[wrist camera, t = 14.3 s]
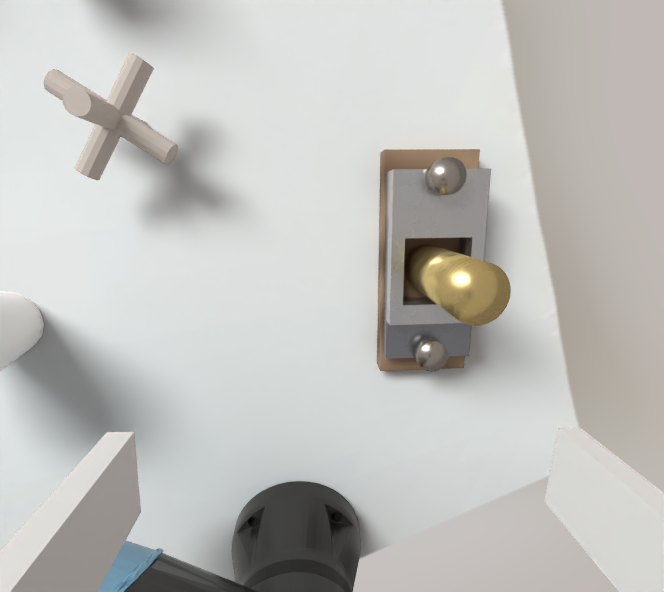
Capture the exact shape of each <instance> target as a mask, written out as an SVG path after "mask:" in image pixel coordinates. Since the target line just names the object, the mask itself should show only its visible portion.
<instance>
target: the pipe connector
mask: <svg viewBox="0 0 664 592" xmlns="http://www.w3.org/2000/svg"><path fill="white" fill-rule="evenodd" d="M153 69H154V68H153V67H152V66H151V65H149V64H148V63H147V62H145V61H144V60H142V59H141V58H139V57H138V56H137V55H135V54H133V53H132V52H129V54H128V57H127V59H126V61H125V63H124V65H123V67H122V69H121V71H120V73H119V76H118V78H117V80H116V82H115V84H114V86H113V88H112V90H111V92H110V94H109V97H108V99H107V101H106V100H105V99H103V98H102V97H100V96H99V95H97V94H95V93H94V92H92V91H91V90H89V89H87V88H86V87H84V86H83V85H81V84H79V83H78V82H76V81H75V80H73V79H71V78H70V77H68V76H67V75H65V74H63V73H62V72H60V71H59V70H55V69H53V70H51V71H49V72H48V73H47V75H46V76H45V79H44V87H45V89H46V90H47V91H48V92H50V93H51V94H53V95H55V96H56V97H58V98H59V99H61V100H63V105H64V107H65V109H66V110H67V111H68V112H69V113H70V114H72V115H74V116H76V117H79V118H82V119H84V120H87V121H89V122H92V123H94V124H95V126H94V128H93V130H92V132H91V135H90V137H89V139H88V141H87V143H86V145H85V147H84V149H83V151H82V153H81V156H80V158H79V160H78V162H77V164H76V166H75V169H76V170H77V171H78V172H80V173H81V174H83V175H85V176H87V177H90V178H92V179H95V180H99V179H100V177H101V175H102V173H103V171H104V169H105V167H106V165H107V163H108V161H109V159H110V157H111V155H112V153H113V151H114V149H115V147H116V145H117V143H118V141H119V139H120V136H121V137H123V138H125V139H126V140H128V141H129V142H131V143H133V144H134V145H136V146H138V147H139V148H141V149H142V150H144V151H146V152H147V153H149V154H151V155H152V156H154V157H155V158H157V159H159V160H160V161H162V162H164V163H165V164H169V163H170V162H171V161H172V160H173V158H174V157H175V155H176V152H177V148H178V146H177V144H175V143H173V142H172V141H170V140H169V139H167V138H165V137H164V136H162V135H161V134H159V133H157V132H156V131H154V130H153V129H151V128H150V127H149V125H148V124H147V123H146V122H144V121H142V120H140V119H139V118H137V117H135V116H133V115H131V114H132V112H133V110H134V108H135V106H136V104H137V102H138V100H139V98H140V96H141V94H142V92H143V89H144V87H145V85H146V83H147V81H148V79H149V77H150V75H151V73H152V71H153Z"/></svg>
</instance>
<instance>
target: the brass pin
mask: <svg viewBox="0 0 664 592" xmlns="http://www.w3.org/2000/svg"><path fill="white" fill-rule="evenodd" d="M404 274H405V277H406V279H407V281H408V282H409V283H410V284H411V285H412V286H414V287H415V288H416V289H418V290H419V291H420V292H422V293H423V294H424V295H426V296H427V297H428V298H429V299H431V300H432V301H433V302H435V303H436V304H437V305H439V306H440V307H441V308H443V309H444V310H445V311H447V312H448V313H449V314H451V315H452V316H453V317H455V318H456V319H457V320H459V321H460V322H462V323H464V324H467V325H475V326H476V325H483V324H486V323H489V322H491V321H493V320H494V319H496V318H497V317H498V316H499V315H500V314H501V313H502V312H503V311H504V309H505V308H506V306H507V304H508V302H509V298H510V283H509V280H508V277H507V276H506V274H505V273H504V271H503V270H502V269H501V268H499V267H498V266H496V265H494V264H492V263H489V262H485V261H482V260H479V259H476V258H473V257H469V256H466V255H463V254H460V253H456V252H453V251H450V250H447V249H444V248H440V247H437V246H434V245H421V246H418V247H416V248H415V249H413V250H412V251H411V252H410V253H409V254H408V256H407V257H406V260H405V262H404Z"/></svg>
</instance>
